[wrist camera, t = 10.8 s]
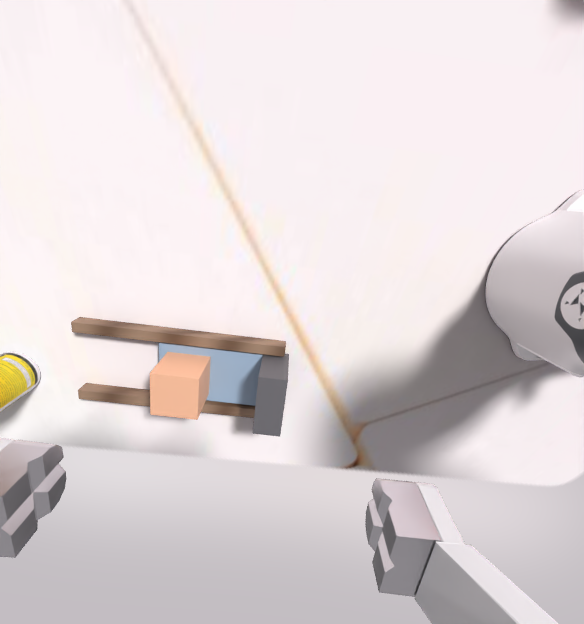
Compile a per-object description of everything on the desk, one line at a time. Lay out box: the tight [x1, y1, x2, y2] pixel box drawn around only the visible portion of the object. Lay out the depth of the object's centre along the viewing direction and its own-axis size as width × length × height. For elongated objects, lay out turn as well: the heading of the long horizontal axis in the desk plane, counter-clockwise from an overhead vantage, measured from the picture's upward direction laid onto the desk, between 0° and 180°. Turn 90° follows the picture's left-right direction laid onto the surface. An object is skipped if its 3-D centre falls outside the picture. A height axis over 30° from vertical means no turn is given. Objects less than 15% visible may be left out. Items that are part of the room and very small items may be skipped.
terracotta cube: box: [150, 352, 211, 420], centre depth 37 cm, size 5×5×5 cm
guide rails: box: [71, 317, 286, 418], centre depth 40 cm, size 24×10×2 cm, turn 83°
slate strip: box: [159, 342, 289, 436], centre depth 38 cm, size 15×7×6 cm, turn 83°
